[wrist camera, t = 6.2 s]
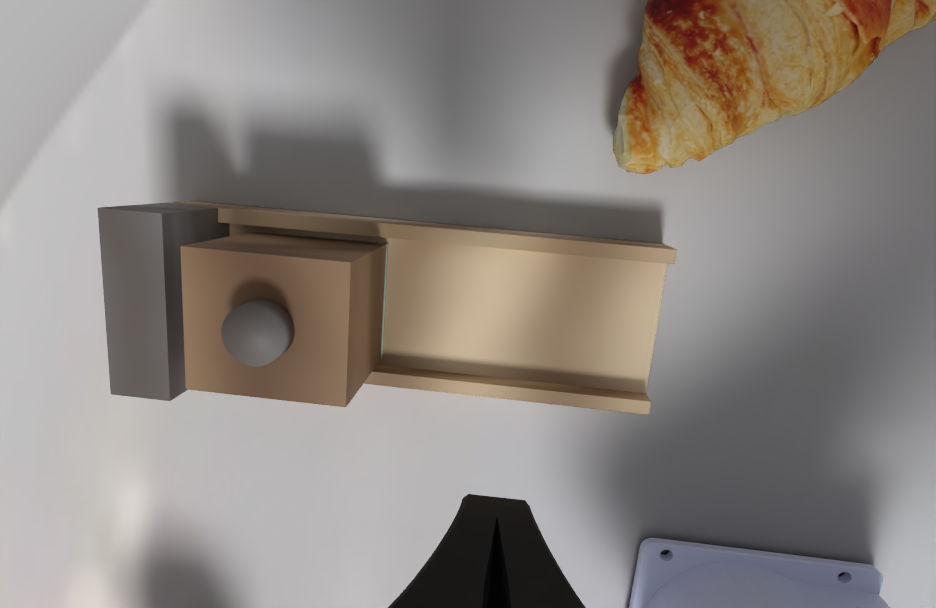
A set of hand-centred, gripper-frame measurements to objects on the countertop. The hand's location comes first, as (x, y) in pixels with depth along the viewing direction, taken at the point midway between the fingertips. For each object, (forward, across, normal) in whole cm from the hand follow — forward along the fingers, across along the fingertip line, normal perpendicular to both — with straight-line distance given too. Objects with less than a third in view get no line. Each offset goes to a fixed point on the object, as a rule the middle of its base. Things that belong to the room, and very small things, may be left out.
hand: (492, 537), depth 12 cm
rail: (+10, +4, -2) cm, 11 cm away
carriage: (+9, +7, -2) cm, 12 cm away
